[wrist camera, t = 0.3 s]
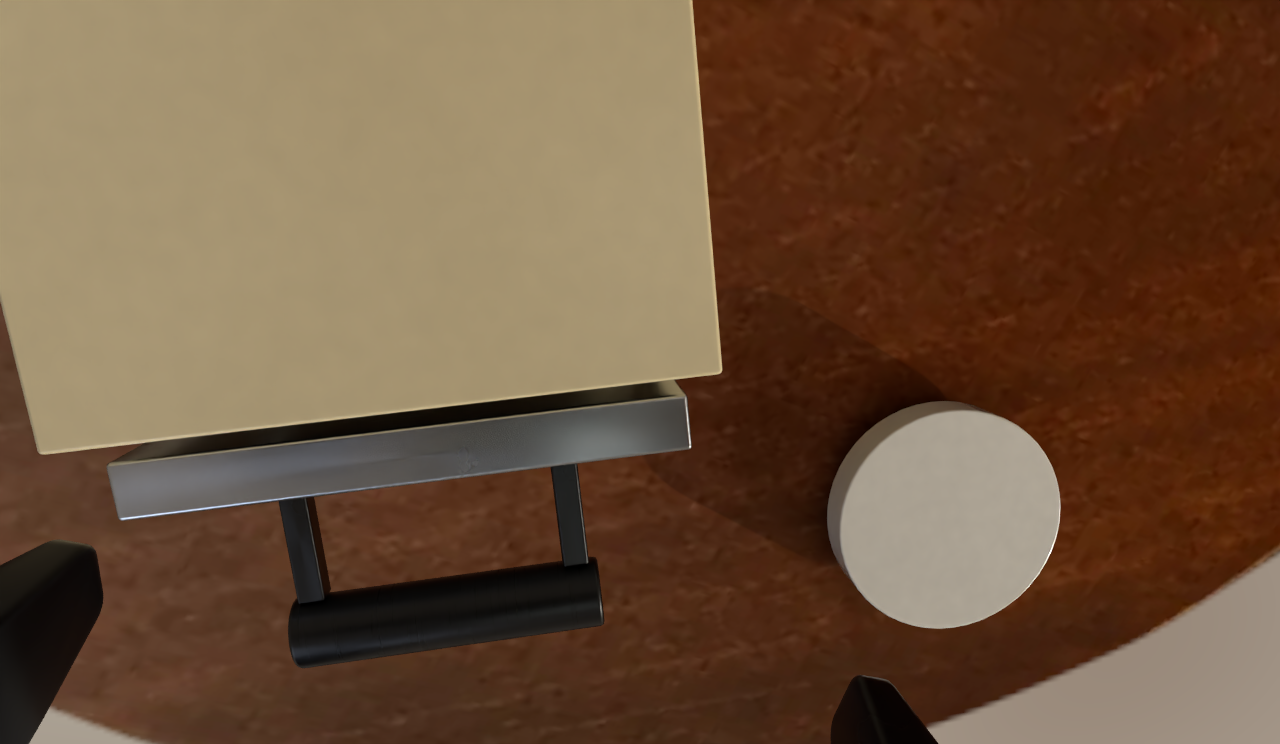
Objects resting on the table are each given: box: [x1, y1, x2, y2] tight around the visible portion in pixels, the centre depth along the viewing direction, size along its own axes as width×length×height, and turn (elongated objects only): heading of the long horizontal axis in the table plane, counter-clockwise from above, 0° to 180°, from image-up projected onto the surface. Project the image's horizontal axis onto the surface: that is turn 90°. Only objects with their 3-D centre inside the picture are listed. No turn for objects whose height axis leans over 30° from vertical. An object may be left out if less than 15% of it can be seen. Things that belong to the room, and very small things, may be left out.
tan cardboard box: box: [0, 0, 722, 455], centre depth 18 cm, size 15×13×9 cm
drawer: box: [107, 379, 692, 668], centre depth 19 cm, size 18×11×7 cm, turn 6°
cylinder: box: [827, 401, 1060, 628], centre depth 26 cm, size 7×7×2 cm
